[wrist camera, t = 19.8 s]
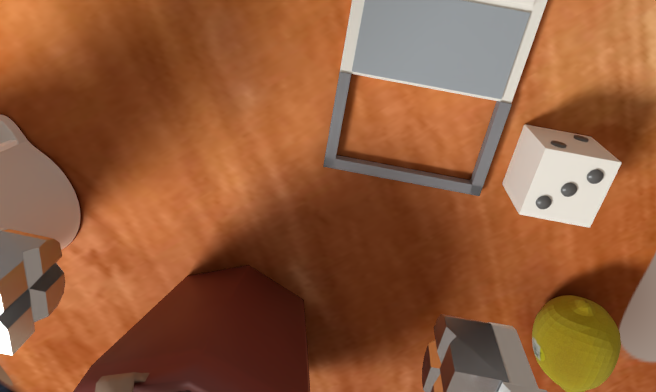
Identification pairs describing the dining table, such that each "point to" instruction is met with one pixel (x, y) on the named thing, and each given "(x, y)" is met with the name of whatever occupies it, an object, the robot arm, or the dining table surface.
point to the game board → (437, 66)
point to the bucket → (211, 340)
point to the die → (559, 175)
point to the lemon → (575, 342)
